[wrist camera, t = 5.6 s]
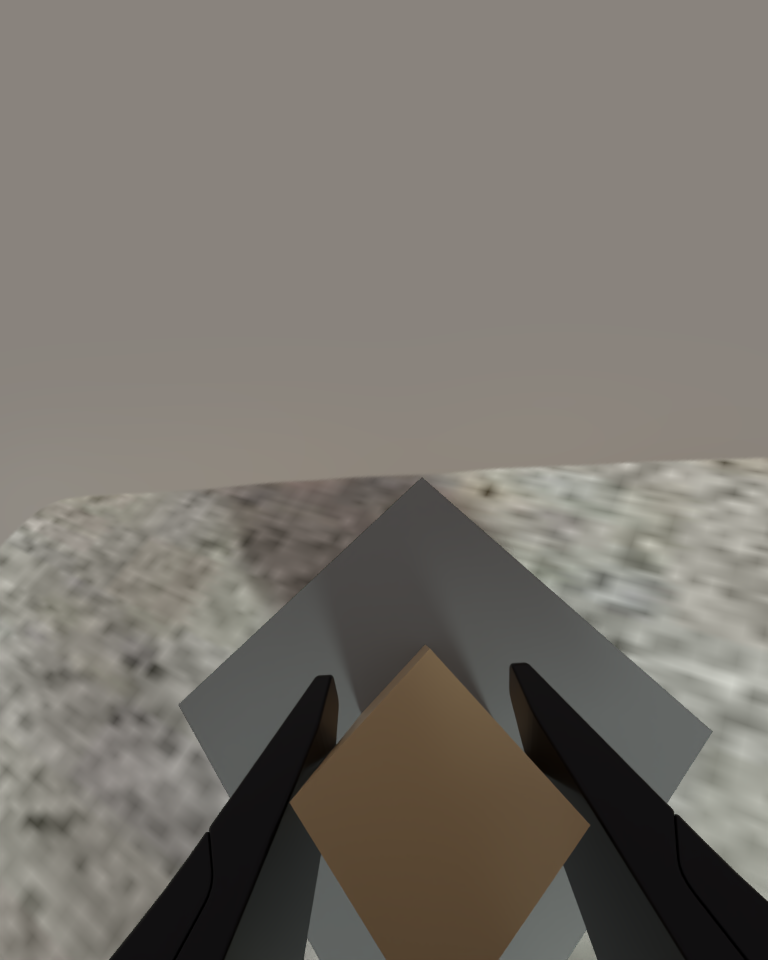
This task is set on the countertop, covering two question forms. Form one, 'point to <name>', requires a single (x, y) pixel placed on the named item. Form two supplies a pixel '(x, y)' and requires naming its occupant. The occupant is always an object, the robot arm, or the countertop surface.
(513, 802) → the cover
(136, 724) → the countertop surface
